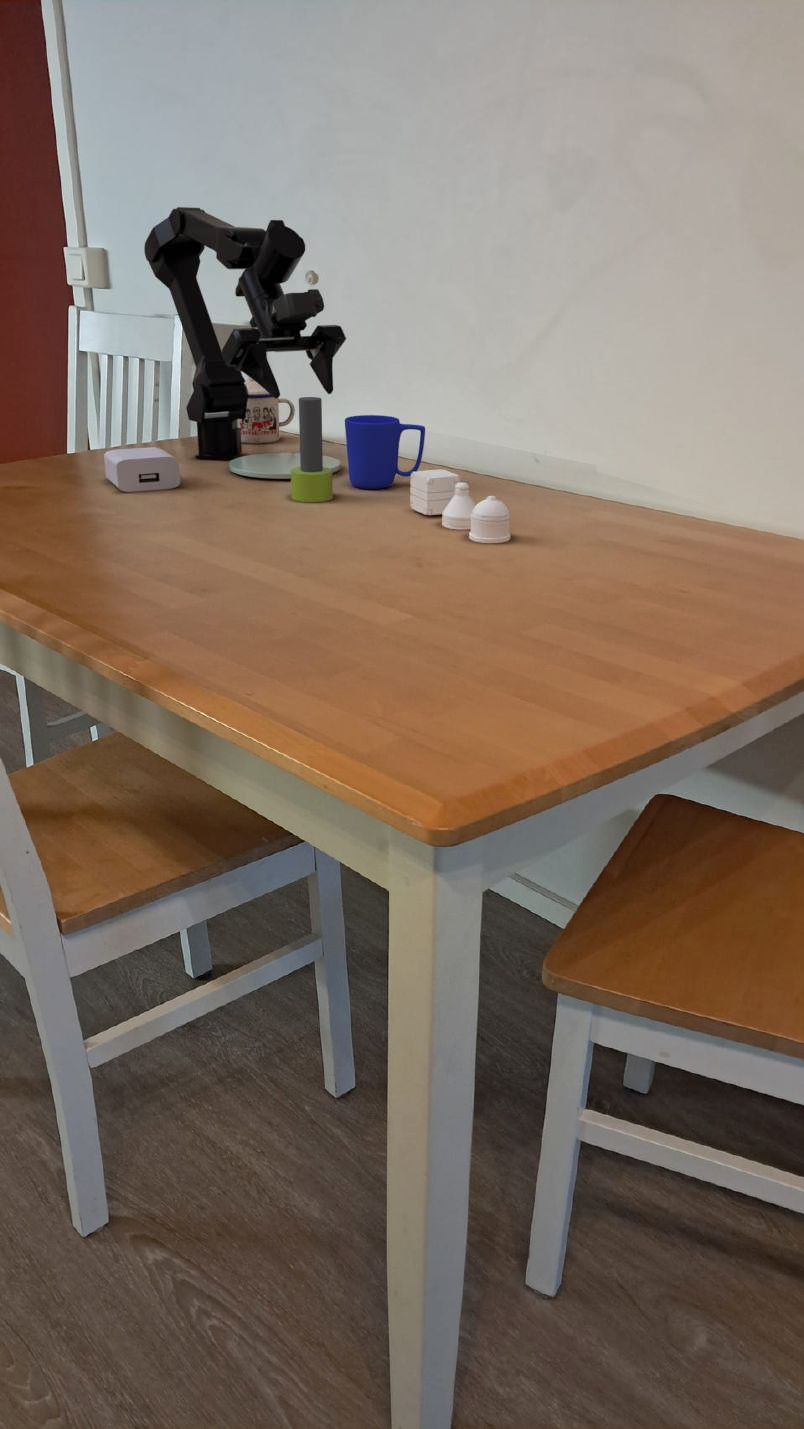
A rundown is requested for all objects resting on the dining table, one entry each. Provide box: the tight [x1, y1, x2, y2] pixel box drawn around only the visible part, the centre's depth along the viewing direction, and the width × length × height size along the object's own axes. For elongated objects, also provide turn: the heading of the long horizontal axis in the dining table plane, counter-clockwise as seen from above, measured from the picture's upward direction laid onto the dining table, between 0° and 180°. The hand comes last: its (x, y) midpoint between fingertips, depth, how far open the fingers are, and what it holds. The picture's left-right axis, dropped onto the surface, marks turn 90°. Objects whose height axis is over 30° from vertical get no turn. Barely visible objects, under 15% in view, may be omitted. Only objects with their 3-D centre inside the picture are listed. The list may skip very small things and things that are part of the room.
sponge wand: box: [290, 396, 334, 503], centre depth 152 cm, size 6×6×14 cm
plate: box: [228, 452, 341, 480], centre depth 173 cm, size 18×18×1 cm
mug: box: [344, 414, 426, 490], centre depth 161 cm, size 8×12×10 cm
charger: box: [103, 446, 181, 493], centre depth 164 cm, size 5×9×15 cm
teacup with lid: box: [237, 375, 296, 445], centre depth 197 cm, size 12×9×12 cm
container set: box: [409, 468, 511, 544], centre depth 140 cm, size 20×5×6 cm, turn 27°
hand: (304, 394), depth 158 cm, fingers open, 9 cm apart
